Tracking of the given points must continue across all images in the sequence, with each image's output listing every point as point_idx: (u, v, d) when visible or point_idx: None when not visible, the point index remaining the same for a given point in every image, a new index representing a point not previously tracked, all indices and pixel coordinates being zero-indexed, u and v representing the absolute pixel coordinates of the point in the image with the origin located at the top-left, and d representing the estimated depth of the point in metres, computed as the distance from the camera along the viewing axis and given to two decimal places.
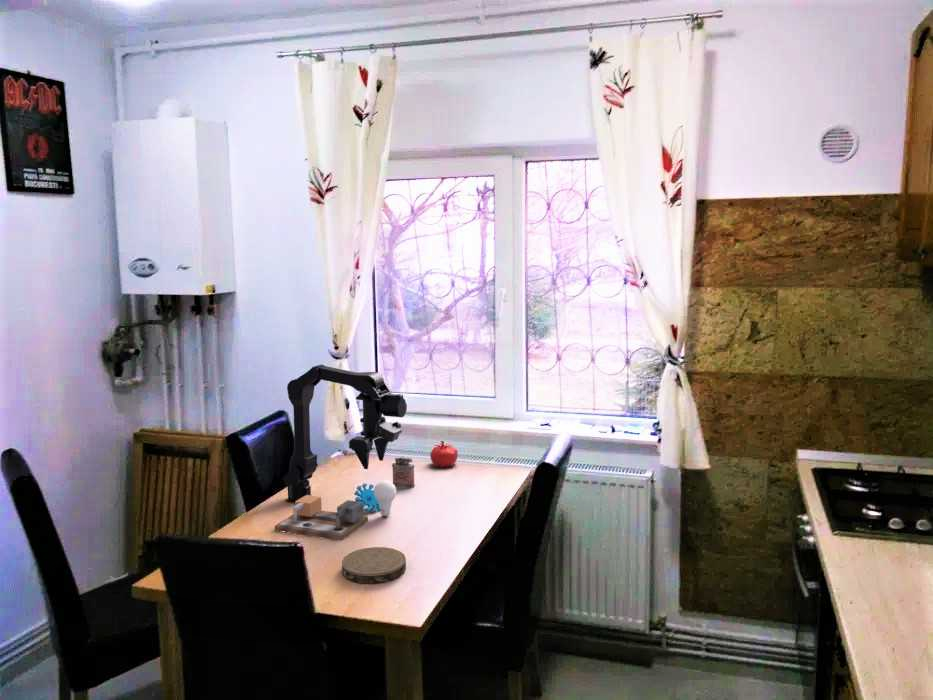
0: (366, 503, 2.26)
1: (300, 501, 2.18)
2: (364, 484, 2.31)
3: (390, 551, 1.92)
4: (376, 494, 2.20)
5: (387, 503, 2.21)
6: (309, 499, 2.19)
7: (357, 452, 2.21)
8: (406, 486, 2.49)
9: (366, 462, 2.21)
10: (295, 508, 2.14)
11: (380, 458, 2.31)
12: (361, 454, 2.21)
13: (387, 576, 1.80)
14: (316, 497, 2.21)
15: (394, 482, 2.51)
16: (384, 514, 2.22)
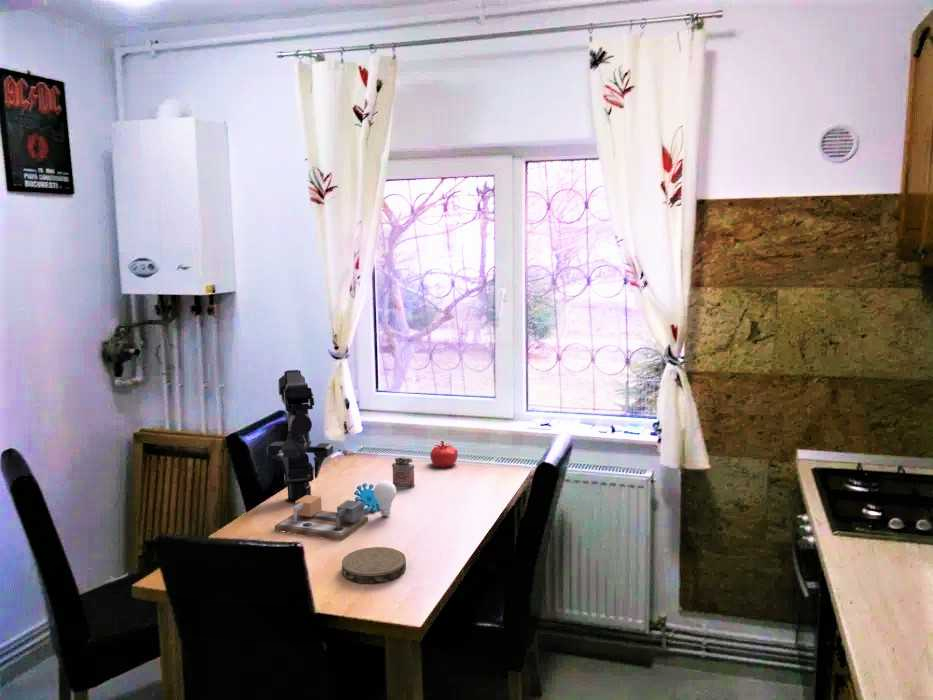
0: (366, 503, 2.27)
1: (300, 501, 2.18)
2: (364, 484, 2.31)
3: (390, 551, 1.92)
4: (376, 494, 2.20)
5: (387, 503, 2.21)
6: (309, 499, 2.19)
7: None
8: (406, 486, 2.49)
9: None
10: (295, 508, 2.14)
11: None
12: None
13: (387, 576, 1.80)
14: (316, 497, 2.21)
15: (394, 482, 2.51)
16: (384, 514, 2.22)
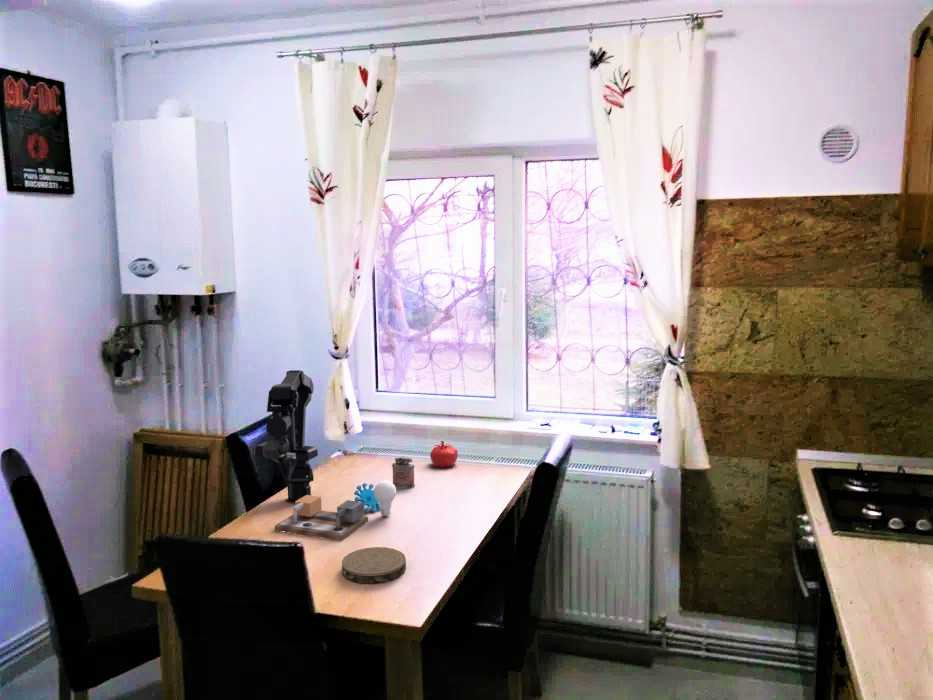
0: (365, 503, 2.27)
1: (300, 501, 2.18)
2: (364, 484, 2.31)
3: (390, 551, 1.92)
4: (376, 494, 2.20)
5: (387, 503, 2.21)
6: (309, 499, 2.19)
7: None
8: (406, 486, 2.49)
9: None
10: (295, 508, 2.14)
11: None
12: None
13: (387, 576, 1.80)
14: (316, 497, 2.21)
15: (394, 482, 2.51)
16: (384, 514, 2.22)
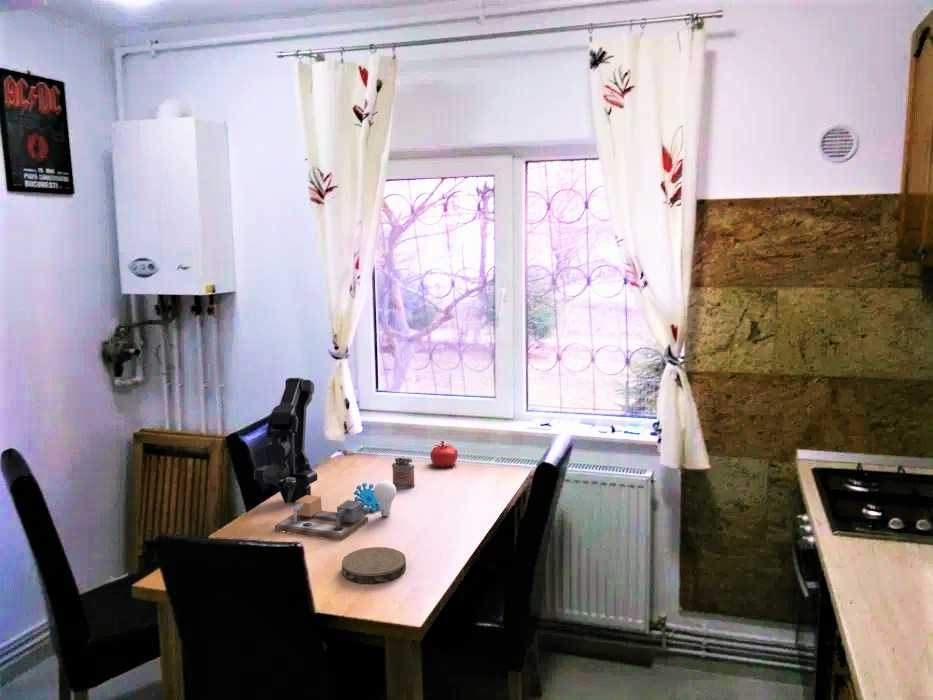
0: (365, 503, 2.27)
1: (300, 501, 2.18)
2: (364, 484, 2.31)
3: (390, 551, 1.92)
4: (376, 494, 2.20)
5: (387, 503, 2.21)
6: (309, 499, 2.19)
7: None
8: (406, 486, 2.49)
9: None
10: (295, 508, 2.14)
11: None
12: None
13: (387, 576, 1.80)
14: (316, 497, 2.21)
15: (394, 482, 2.51)
16: (384, 514, 2.22)
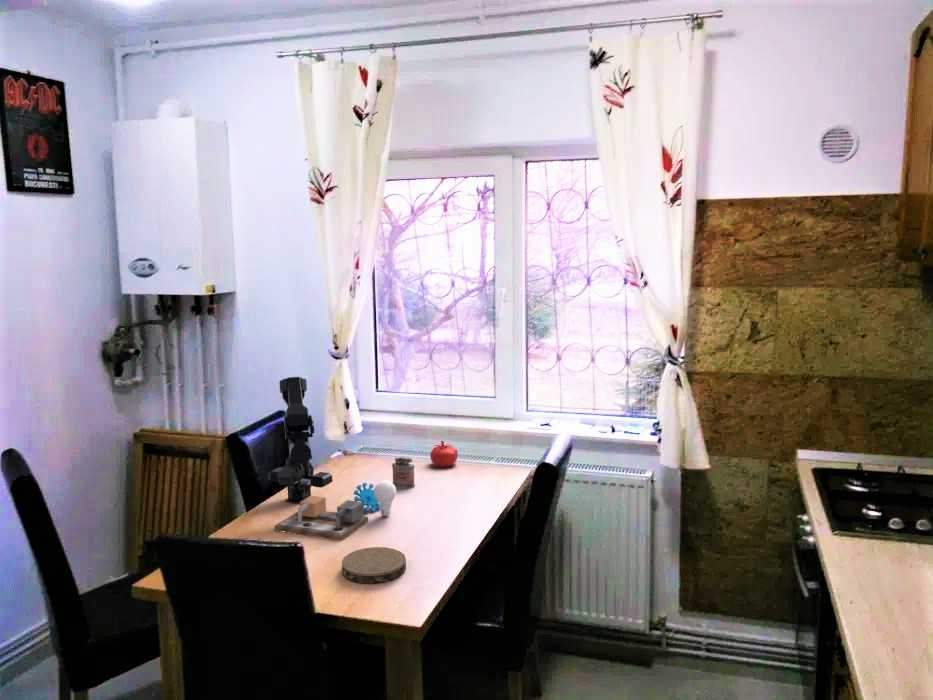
0: (365, 503, 2.27)
1: (305, 502, 2.18)
2: (364, 483, 2.31)
3: (390, 551, 1.92)
4: (376, 494, 2.20)
5: (387, 503, 2.21)
6: (314, 500, 2.19)
7: None
8: (406, 486, 2.49)
9: None
10: (300, 509, 2.13)
11: None
12: None
13: (387, 576, 1.80)
14: (321, 498, 2.21)
15: (394, 482, 2.51)
16: (384, 514, 2.22)
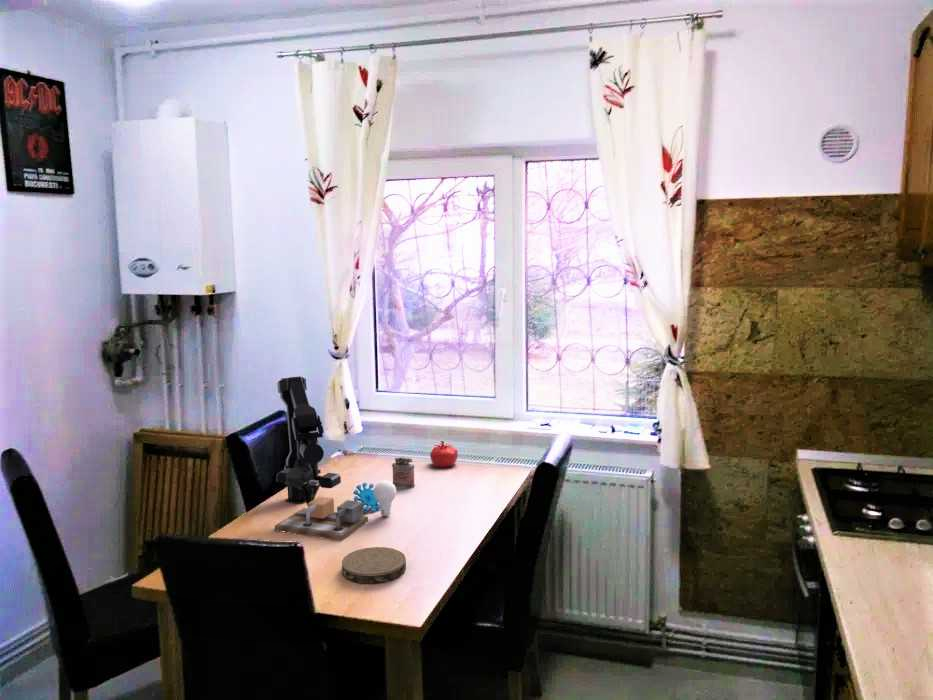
0: (365, 502, 2.27)
1: (313, 503, 2.17)
2: (364, 483, 2.31)
3: (390, 551, 1.92)
4: (376, 494, 2.20)
5: (387, 503, 2.21)
6: (322, 501, 2.18)
7: None
8: (406, 486, 2.49)
9: None
10: (308, 510, 2.12)
11: None
12: None
13: (387, 576, 1.80)
14: (329, 499, 2.20)
15: (394, 482, 2.51)
16: (384, 514, 2.22)
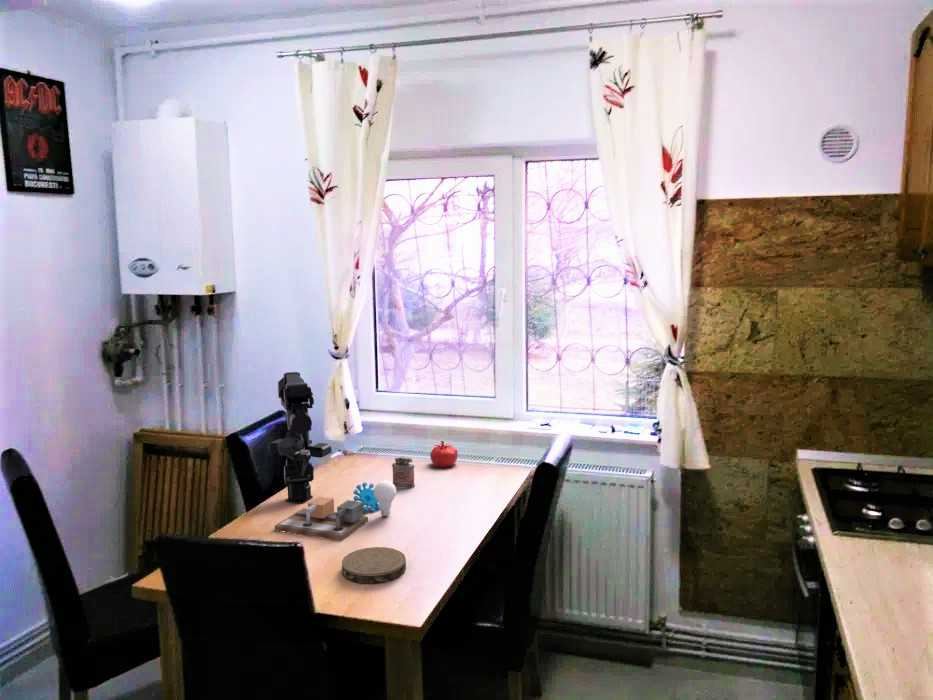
0: (364, 502, 2.27)
1: (313, 503, 2.17)
2: (364, 483, 2.32)
3: (390, 551, 1.92)
4: (376, 494, 2.20)
5: (387, 503, 2.21)
6: (322, 501, 2.18)
7: None
8: (406, 486, 2.49)
9: None
10: (308, 510, 2.12)
11: None
12: None
13: (387, 576, 1.80)
14: (329, 499, 2.20)
15: (394, 482, 2.51)
16: (384, 514, 2.22)
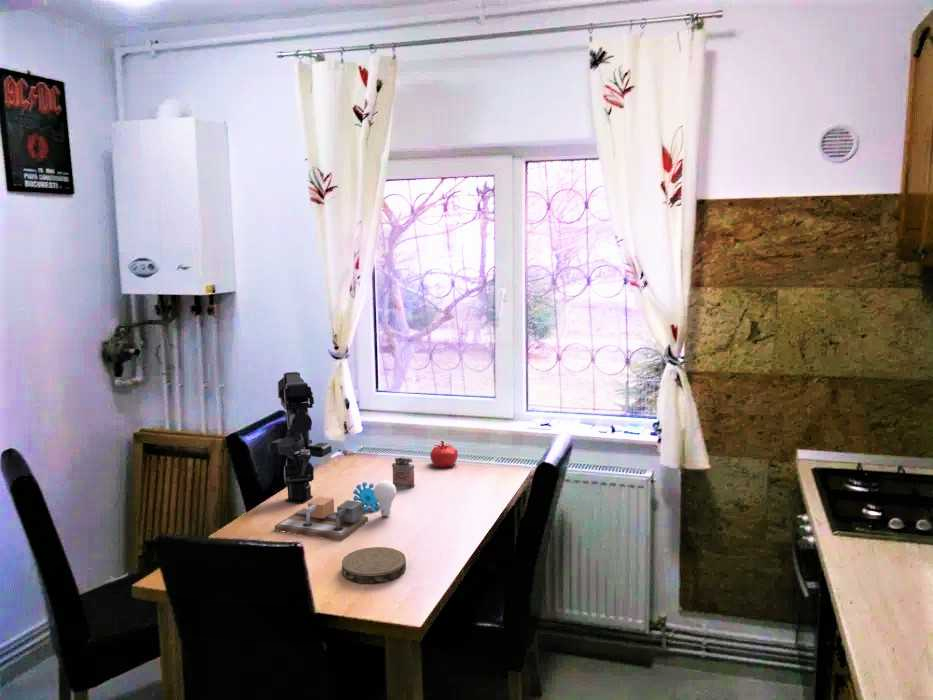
0: (364, 502, 2.27)
1: (313, 503, 2.17)
2: (364, 483, 2.32)
3: (390, 551, 1.92)
4: (376, 494, 2.20)
5: (387, 503, 2.21)
6: (322, 501, 2.18)
7: None
8: (406, 486, 2.49)
9: None
10: (308, 510, 2.12)
11: None
12: None
13: (387, 576, 1.80)
14: (329, 499, 2.20)
15: (394, 482, 2.51)
16: (384, 514, 2.22)
